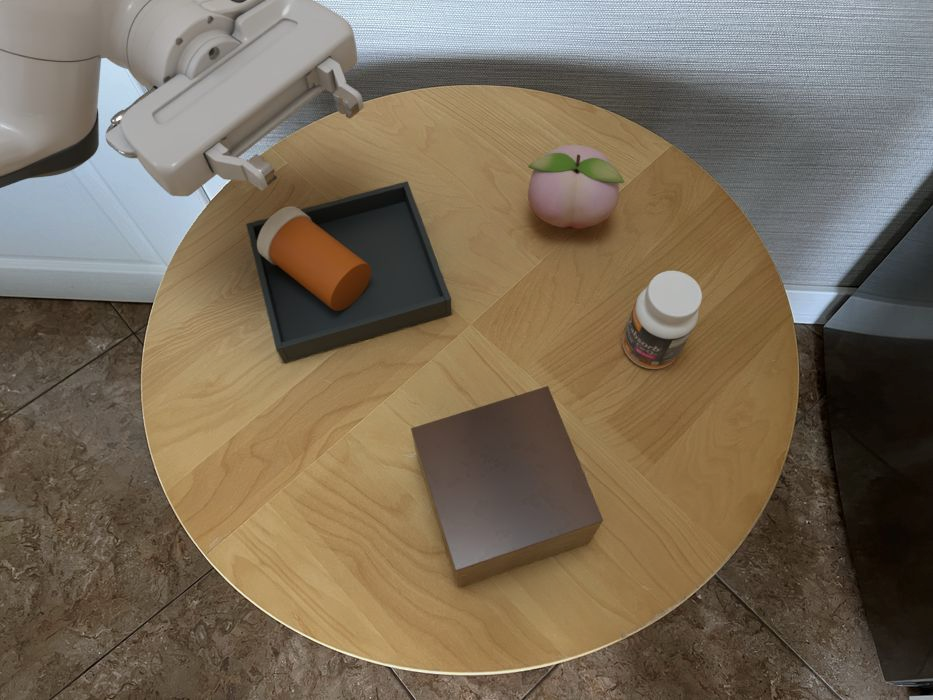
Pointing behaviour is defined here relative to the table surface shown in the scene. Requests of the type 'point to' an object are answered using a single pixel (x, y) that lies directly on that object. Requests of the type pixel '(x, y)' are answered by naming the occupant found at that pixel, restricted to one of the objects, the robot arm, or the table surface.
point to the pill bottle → (662, 320)
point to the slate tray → (390, 286)
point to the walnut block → (505, 486)
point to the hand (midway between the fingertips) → (313, 142)
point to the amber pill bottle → (313, 258)
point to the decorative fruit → (573, 186)
